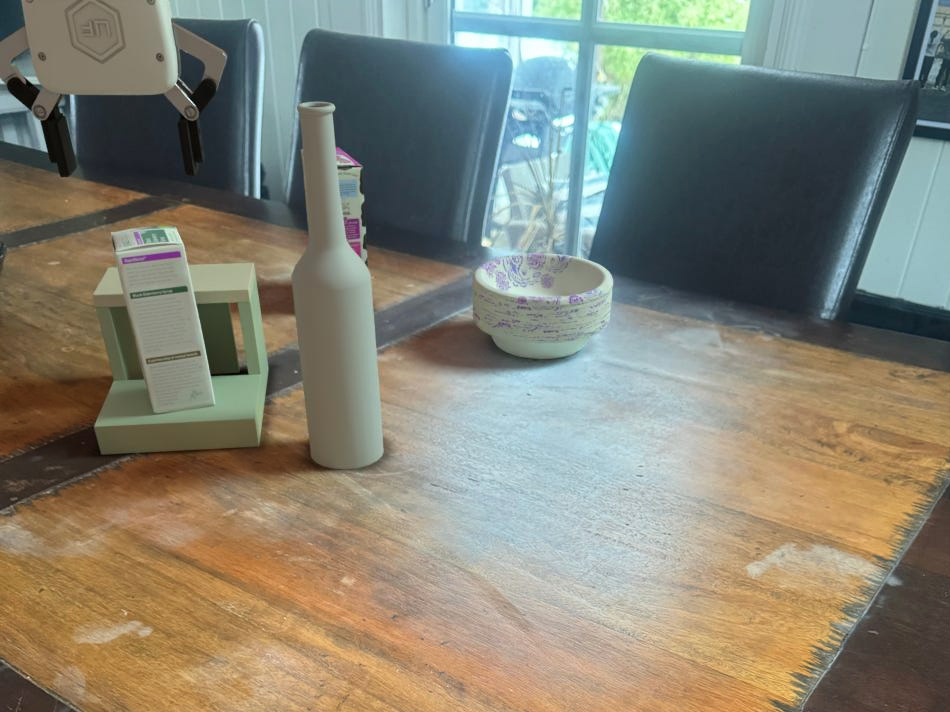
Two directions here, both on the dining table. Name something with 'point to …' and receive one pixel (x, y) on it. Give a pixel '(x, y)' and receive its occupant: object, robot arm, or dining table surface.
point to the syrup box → (163, 317)
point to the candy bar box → (349, 201)
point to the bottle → (334, 315)
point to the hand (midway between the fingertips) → (131, 172)
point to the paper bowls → (541, 303)
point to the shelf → (237, 396)
